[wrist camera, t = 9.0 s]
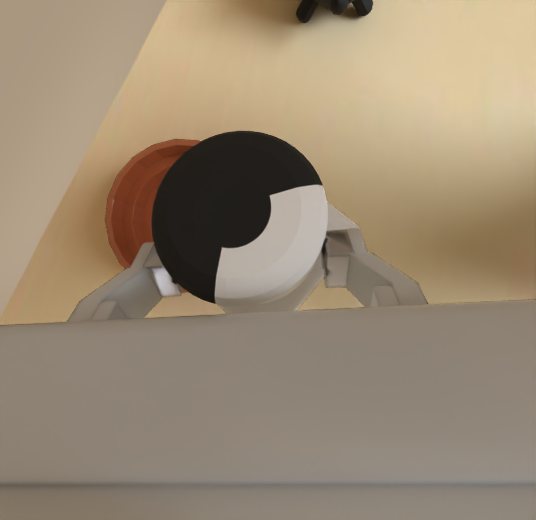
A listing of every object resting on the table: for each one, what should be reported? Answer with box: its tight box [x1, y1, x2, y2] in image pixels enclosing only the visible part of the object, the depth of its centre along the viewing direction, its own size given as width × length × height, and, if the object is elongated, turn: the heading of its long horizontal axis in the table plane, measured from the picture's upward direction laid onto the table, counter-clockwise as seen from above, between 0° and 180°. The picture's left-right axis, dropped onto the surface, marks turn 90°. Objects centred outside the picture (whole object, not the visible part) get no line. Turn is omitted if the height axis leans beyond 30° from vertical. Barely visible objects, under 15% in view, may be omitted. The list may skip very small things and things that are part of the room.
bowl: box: [105, 139, 201, 293], centre depth 30 cm, size 14×14×4 cm
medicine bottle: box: [151, 131, 360, 314], centre depth 15 cm, size 7×7×12 cm
